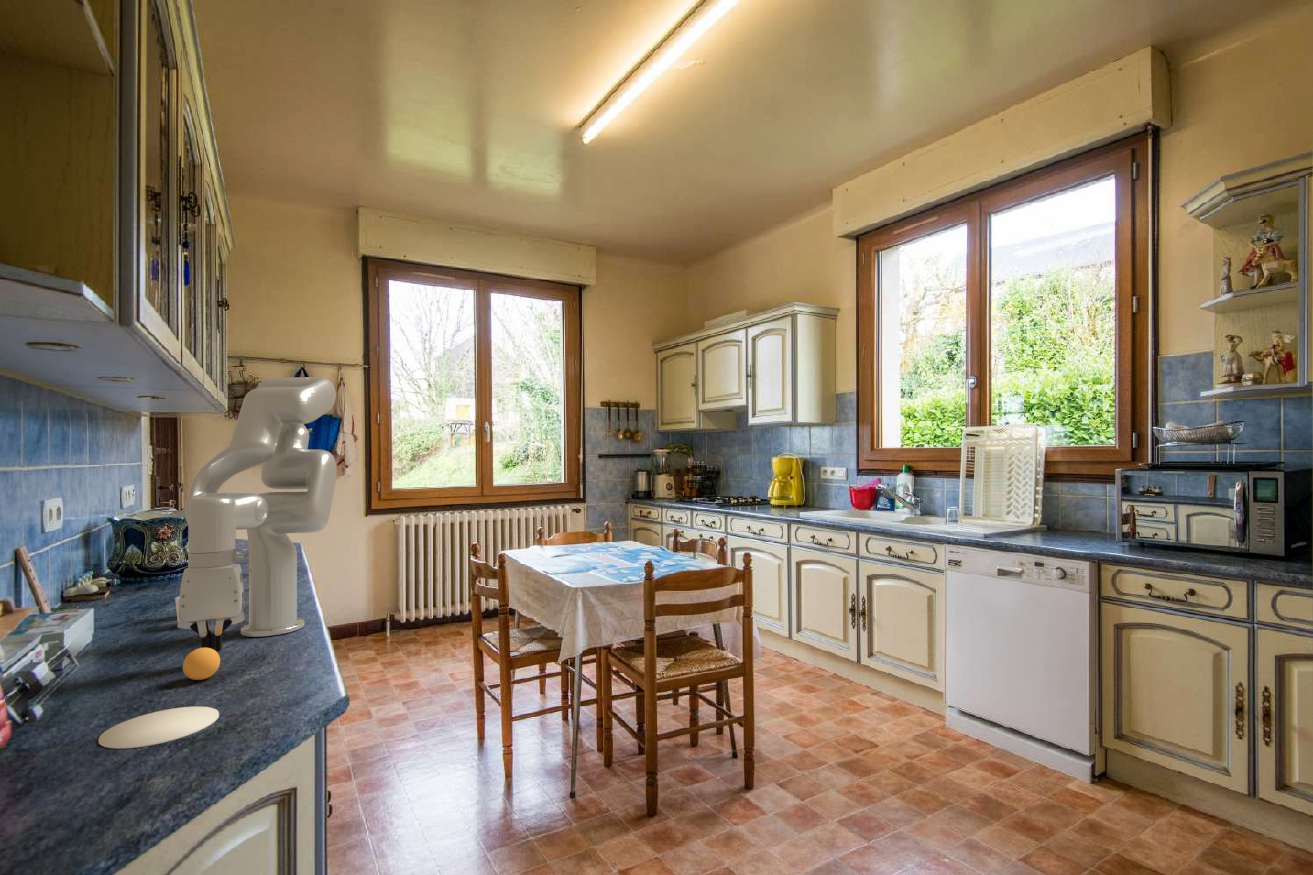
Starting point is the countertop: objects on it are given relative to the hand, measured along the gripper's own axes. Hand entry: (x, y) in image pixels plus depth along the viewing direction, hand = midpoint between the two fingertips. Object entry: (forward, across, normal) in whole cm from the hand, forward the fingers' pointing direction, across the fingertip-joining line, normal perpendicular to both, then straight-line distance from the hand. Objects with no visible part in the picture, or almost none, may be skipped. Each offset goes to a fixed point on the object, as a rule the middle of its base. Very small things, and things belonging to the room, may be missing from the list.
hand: (211, 655), depth 122 cm
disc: (+2, +1, +31) cm, 31 cm away
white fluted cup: (+2, +10, -38) cm, 39 cm away
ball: (-1, 0, +9) cm, 9 cm away
